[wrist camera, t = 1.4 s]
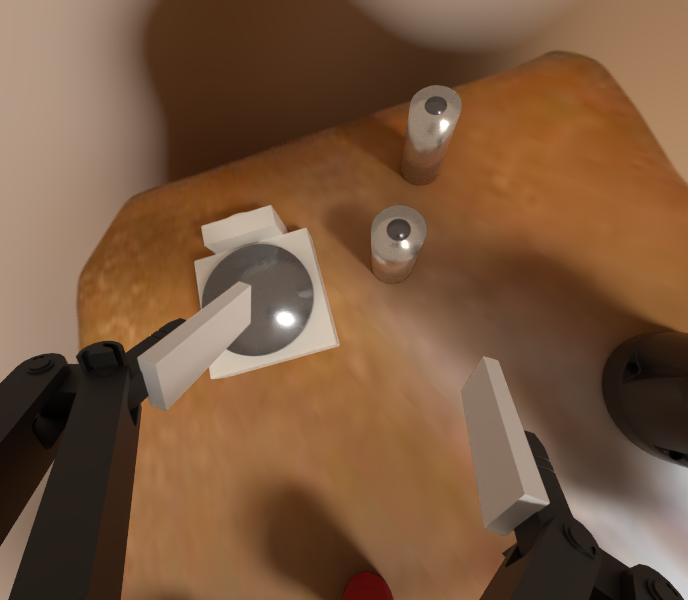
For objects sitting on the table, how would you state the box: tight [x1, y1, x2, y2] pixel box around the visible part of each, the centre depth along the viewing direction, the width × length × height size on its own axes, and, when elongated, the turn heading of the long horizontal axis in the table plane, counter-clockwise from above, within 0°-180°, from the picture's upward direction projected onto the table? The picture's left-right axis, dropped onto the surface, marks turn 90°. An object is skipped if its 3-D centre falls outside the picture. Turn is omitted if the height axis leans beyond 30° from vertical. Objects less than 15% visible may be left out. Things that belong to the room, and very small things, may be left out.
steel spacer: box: [401, 85, 462, 185], centre depth 38 cm, size 6×6×11 cm
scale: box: [194, 205, 340, 379], centre depth 38 cm, size 17×20×7 cm
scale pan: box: [202, 244, 314, 356], centre depth 36 cm, size 15×15×1 cm
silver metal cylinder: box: [371, 205, 427, 284], centre depth 35 cm, size 6×6×11 cm
